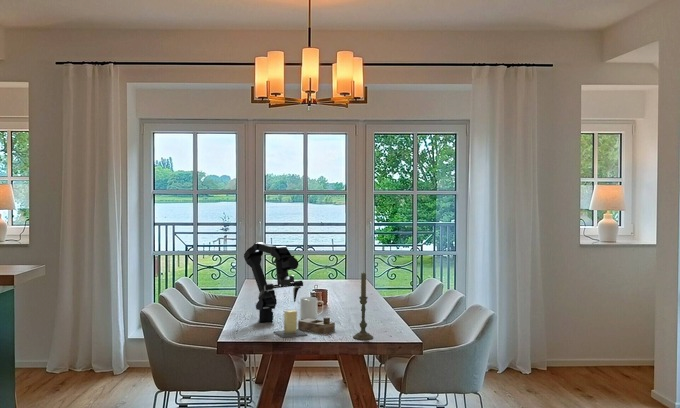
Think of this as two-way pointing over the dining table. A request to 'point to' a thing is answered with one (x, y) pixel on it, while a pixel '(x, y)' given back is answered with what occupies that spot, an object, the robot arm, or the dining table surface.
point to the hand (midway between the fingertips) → (285, 303)
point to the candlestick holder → (363, 312)
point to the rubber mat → (284, 335)
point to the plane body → (317, 325)
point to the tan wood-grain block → (290, 322)
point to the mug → (309, 308)
